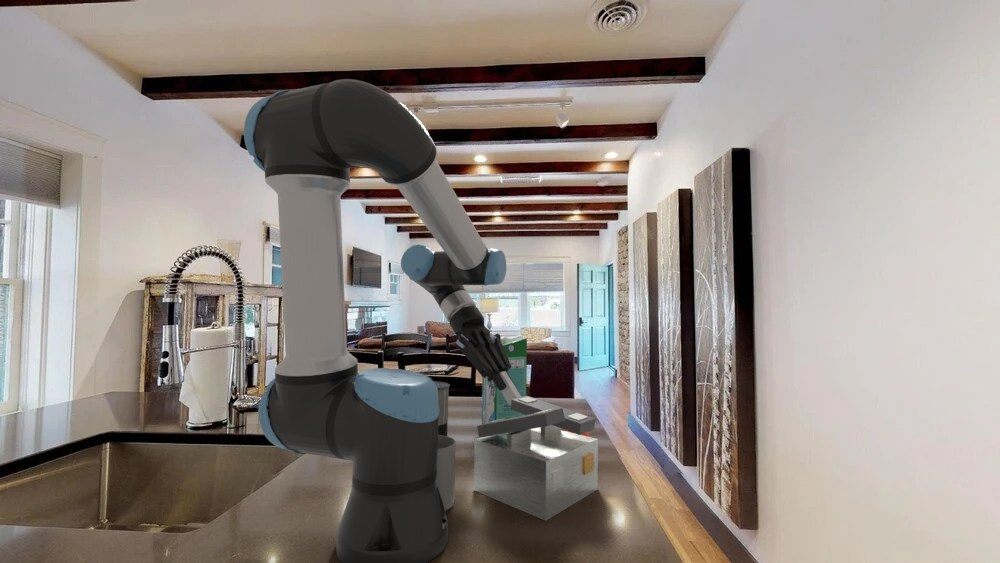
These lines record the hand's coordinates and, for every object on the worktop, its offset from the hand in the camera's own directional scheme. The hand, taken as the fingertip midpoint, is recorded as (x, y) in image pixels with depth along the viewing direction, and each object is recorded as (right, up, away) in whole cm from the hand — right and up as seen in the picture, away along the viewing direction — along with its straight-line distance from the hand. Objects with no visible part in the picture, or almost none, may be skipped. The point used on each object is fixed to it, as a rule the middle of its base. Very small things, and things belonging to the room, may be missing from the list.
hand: (515, 401), depth 88 cm
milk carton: (-2, -15, +26) cm, 31 cm away
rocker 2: (+7, -1, -6) cm, 9 cm away
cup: (-15, -13, -16) cm, 25 cm away
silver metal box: (+3, -13, -10) cm, 17 cm away
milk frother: (-24, -14, +10) cm, 29 cm away
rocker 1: (0, -1, -14) cm, 14 cm away
